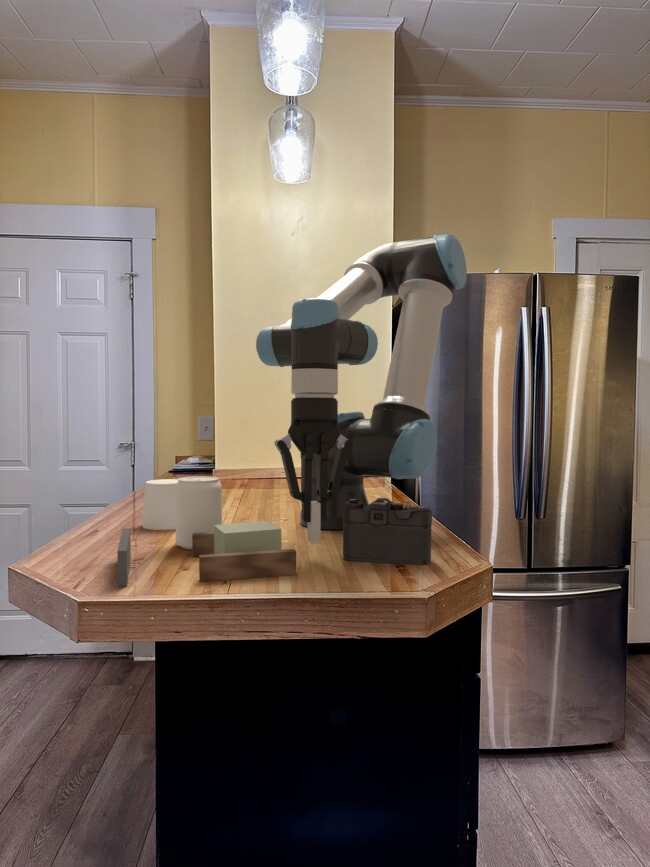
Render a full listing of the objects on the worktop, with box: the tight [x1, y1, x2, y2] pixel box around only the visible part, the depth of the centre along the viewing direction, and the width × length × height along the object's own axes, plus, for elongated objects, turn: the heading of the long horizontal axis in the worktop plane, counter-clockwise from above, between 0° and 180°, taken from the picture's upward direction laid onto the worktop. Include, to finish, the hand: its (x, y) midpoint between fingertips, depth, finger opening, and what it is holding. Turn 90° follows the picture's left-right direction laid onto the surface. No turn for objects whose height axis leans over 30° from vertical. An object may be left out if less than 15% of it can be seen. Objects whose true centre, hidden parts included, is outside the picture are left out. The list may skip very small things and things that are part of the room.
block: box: [214, 520, 282, 554], centre depth 99 cm, size 9×7×6 cm
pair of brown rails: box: [191, 532, 297, 583], centre depth 99 cm, size 14×17×4 cm
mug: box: [140, 478, 179, 531], centre depth 128 cm, size 12×9×8 cm
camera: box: [342, 497, 433, 566], centre depth 104 cm, size 14×11×10 cm
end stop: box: [116, 527, 132, 588], centre depth 94 cm, size 1×16×5 cm, turn 15°
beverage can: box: [175, 475, 223, 550], centre depth 111 cm, size 8×8×12 cm
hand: (313, 541), depth 102 cm, fingers closed
